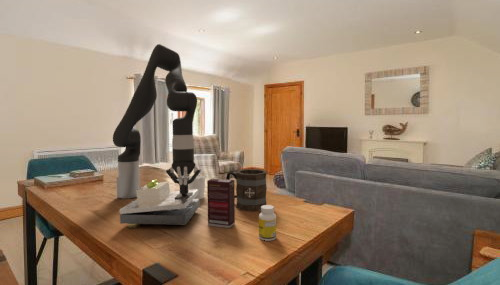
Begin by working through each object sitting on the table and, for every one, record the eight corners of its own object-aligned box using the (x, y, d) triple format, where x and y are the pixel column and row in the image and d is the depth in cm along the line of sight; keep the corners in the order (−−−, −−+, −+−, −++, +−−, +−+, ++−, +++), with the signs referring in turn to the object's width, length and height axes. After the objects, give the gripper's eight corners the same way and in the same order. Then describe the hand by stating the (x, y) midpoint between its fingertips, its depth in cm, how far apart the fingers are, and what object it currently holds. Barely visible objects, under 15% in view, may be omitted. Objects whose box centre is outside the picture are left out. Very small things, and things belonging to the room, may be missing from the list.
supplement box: (235, 223, 96) (235, 179, 95) (229, 228, 92) (229, 182, 91) (213, 220, 99) (213, 177, 98) (207, 225, 95) (206, 180, 93)
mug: (272, 204, 119) (273, 170, 118) (257, 213, 107) (257, 175, 106) (235, 198, 129) (235, 167, 128) (217, 205, 117) (217, 171, 116)
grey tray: (120, 229, 91) (120, 214, 91) (146, 210, 111) (145, 198, 111) (185, 230, 90) (185, 215, 90) (199, 211, 110) (199, 199, 110)
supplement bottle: (257, 234, 87) (257, 204, 86) (274, 233, 88) (274, 204, 87) (259, 241, 82) (260, 209, 81) (277, 241, 82) (278, 209, 82)
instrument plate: (120, 213, 91) (116, 189, 90) (145, 197, 111) (143, 177, 110) (184, 208, 89) (181, 183, 89) (199, 192, 109) (196, 172, 109)
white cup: (207, 195, 134) (206, 175, 133) (202, 200, 126) (202, 178, 125) (191, 195, 134) (191, 175, 134) (186, 199, 127) (185, 178, 126)
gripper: (161, 148, 95) (162, 197, 96) (198, 148, 94) (199, 197, 95) (168, 146, 102) (169, 192, 103) (203, 146, 102) (204, 192, 103)
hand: (184, 194), depth 99 cm, fingers closed
